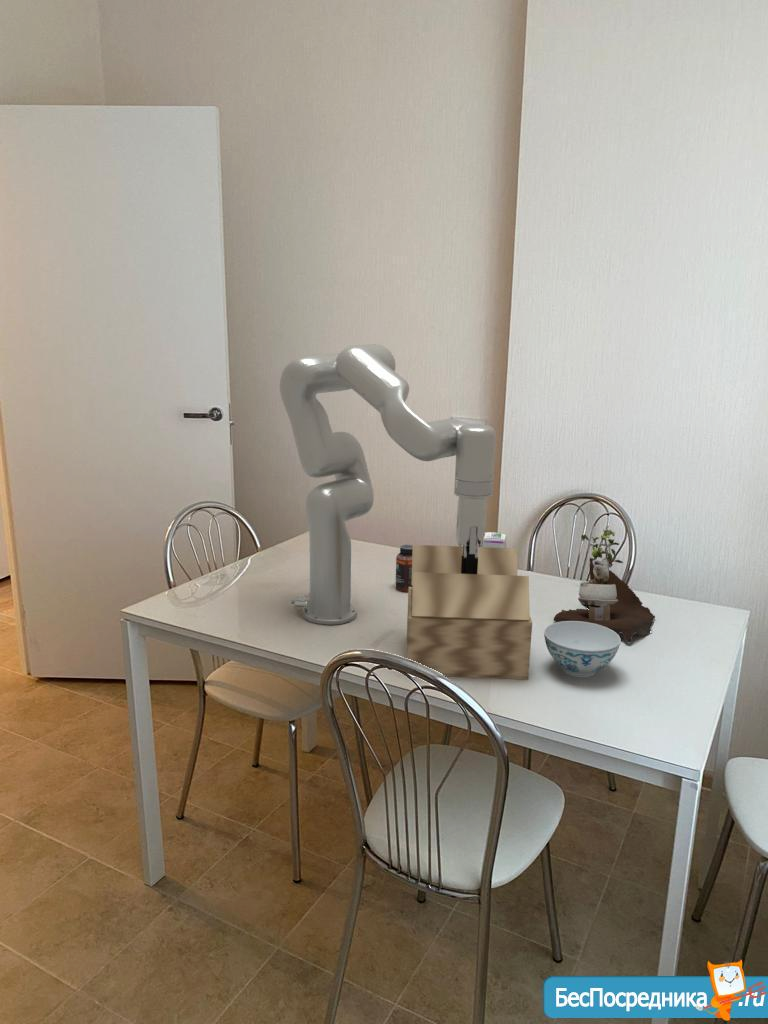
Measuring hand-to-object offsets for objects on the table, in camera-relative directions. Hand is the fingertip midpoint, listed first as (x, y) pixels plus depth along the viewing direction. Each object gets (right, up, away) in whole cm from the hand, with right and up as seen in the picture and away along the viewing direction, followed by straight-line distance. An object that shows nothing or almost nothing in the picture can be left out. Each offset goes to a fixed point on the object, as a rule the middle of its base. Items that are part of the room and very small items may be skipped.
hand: (468, 575), depth 168 cm
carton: (-1, -18, +4) cm, 18 cm away
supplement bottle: (-11, -7, +44) cm, 46 cm away
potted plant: (+35, -13, +26) cm, 46 cm away
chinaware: (+22, -19, 0) cm, 30 cm away
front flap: (0, -4, -6) cm, 7 cm away
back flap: (0, +1, +11) cm, 11 cm away
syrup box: (+11, -7, +46) cm, 48 cm away
